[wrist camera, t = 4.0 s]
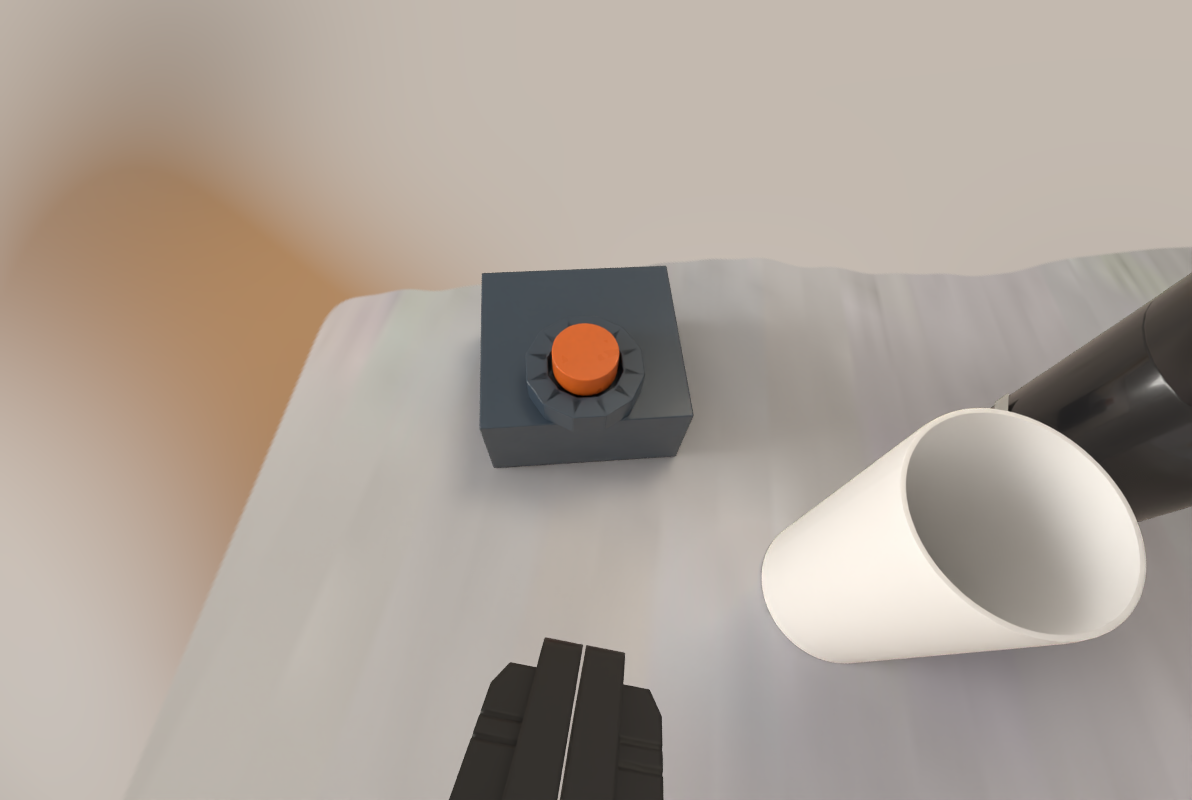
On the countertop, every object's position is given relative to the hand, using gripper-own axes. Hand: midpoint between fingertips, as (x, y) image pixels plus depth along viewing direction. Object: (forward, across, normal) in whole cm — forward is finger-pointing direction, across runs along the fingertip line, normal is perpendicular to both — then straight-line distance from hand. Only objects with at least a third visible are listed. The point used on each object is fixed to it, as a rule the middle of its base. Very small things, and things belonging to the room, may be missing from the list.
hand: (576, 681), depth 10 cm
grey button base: (+29, +3, +3) cm, 29 cm away
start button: (+22, +2, 0) cm, 22 cm away
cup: (+22, -14, +11) cm, 28 cm away
